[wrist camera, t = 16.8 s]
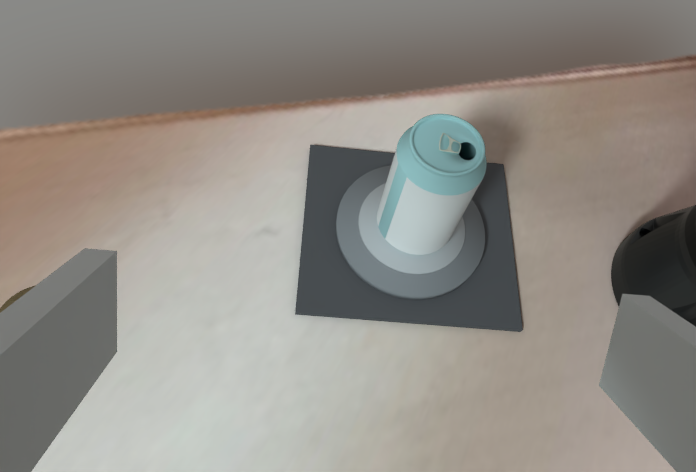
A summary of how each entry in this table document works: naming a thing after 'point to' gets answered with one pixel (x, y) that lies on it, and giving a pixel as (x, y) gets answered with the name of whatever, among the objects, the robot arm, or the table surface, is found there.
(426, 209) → the can
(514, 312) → the flange station
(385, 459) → the table surface
